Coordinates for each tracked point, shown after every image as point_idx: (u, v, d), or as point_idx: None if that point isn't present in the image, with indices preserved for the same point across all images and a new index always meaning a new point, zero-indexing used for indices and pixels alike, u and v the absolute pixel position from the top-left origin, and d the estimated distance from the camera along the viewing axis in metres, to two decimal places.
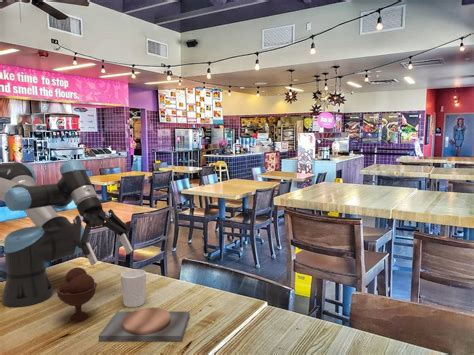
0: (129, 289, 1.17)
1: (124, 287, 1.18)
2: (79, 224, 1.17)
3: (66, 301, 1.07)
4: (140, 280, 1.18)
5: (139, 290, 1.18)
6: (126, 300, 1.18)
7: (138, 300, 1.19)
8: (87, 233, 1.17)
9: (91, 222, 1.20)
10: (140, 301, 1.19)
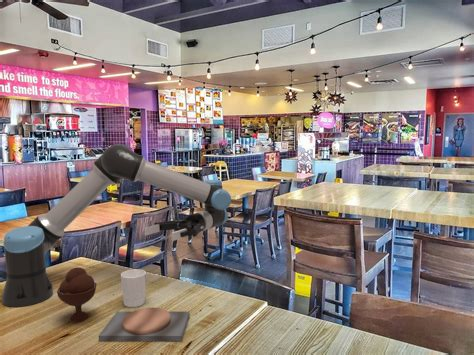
0: (129, 289, 1.17)
1: (124, 287, 1.18)
2: None
3: (66, 301, 1.07)
4: (140, 280, 1.18)
5: (139, 290, 1.18)
6: (126, 300, 1.18)
7: (138, 300, 1.19)
8: None
9: None
10: (140, 301, 1.19)
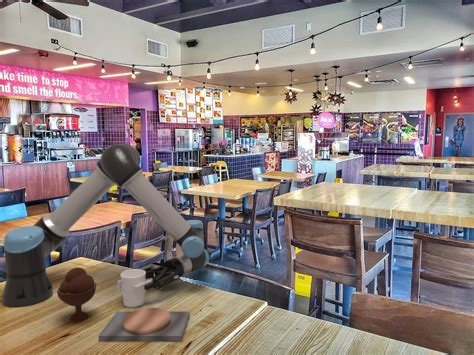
0: (129, 289, 1.17)
1: (124, 287, 1.18)
2: None
3: (66, 301, 1.07)
4: (140, 280, 1.18)
5: None
6: (126, 300, 1.18)
7: (138, 300, 1.19)
8: None
9: None
10: (140, 301, 1.19)
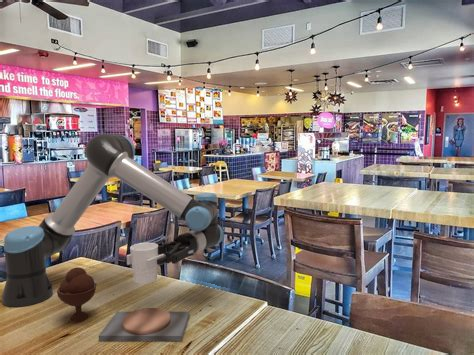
0: (140, 263, 1.05)
1: (134, 261, 1.05)
2: None
3: (66, 301, 1.07)
4: (152, 253, 1.06)
5: None
6: (137, 276, 1.06)
7: (150, 275, 1.06)
8: None
9: None
10: (152, 277, 1.07)
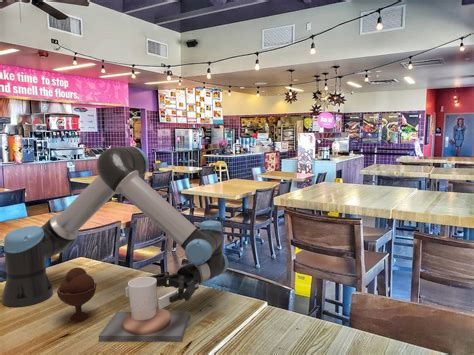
0: (138, 300, 1.02)
1: (132, 298, 1.02)
2: None
3: (66, 301, 1.07)
4: (150, 289, 1.03)
5: (149, 301, 1.03)
6: (134, 312, 1.03)
7: (148, 312, 1.03)
8: None
9: None
10: (151, 313, 1.04)
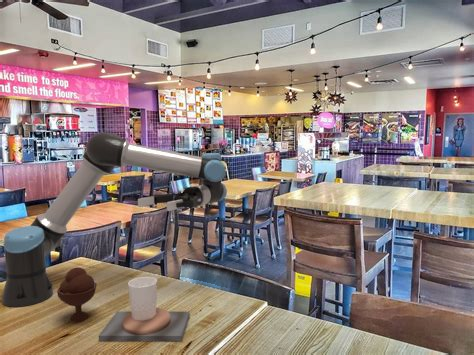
0: (138, 300, 1.02)
1: (132, 298, 1.03)
2: None
3: (66, 301, 1.07)
4: (150, 289, 1.03)
5: (149, 301, 1.03)
6: (134, 312, 1.03)
7: (148, 312, 1.03)
8: None
9: None
10: (151, 314, 1.04)
